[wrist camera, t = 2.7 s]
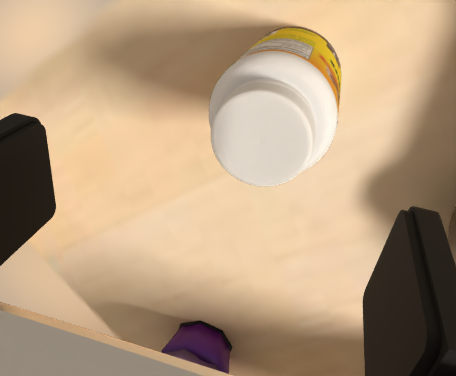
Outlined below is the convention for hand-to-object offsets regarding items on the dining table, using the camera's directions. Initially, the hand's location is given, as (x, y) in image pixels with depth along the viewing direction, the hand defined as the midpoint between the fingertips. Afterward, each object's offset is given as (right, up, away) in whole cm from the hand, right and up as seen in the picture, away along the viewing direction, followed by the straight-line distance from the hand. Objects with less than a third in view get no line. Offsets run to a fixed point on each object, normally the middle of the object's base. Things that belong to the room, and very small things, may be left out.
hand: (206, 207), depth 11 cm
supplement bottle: (+4, +7, +13) cm, 16 cm away
